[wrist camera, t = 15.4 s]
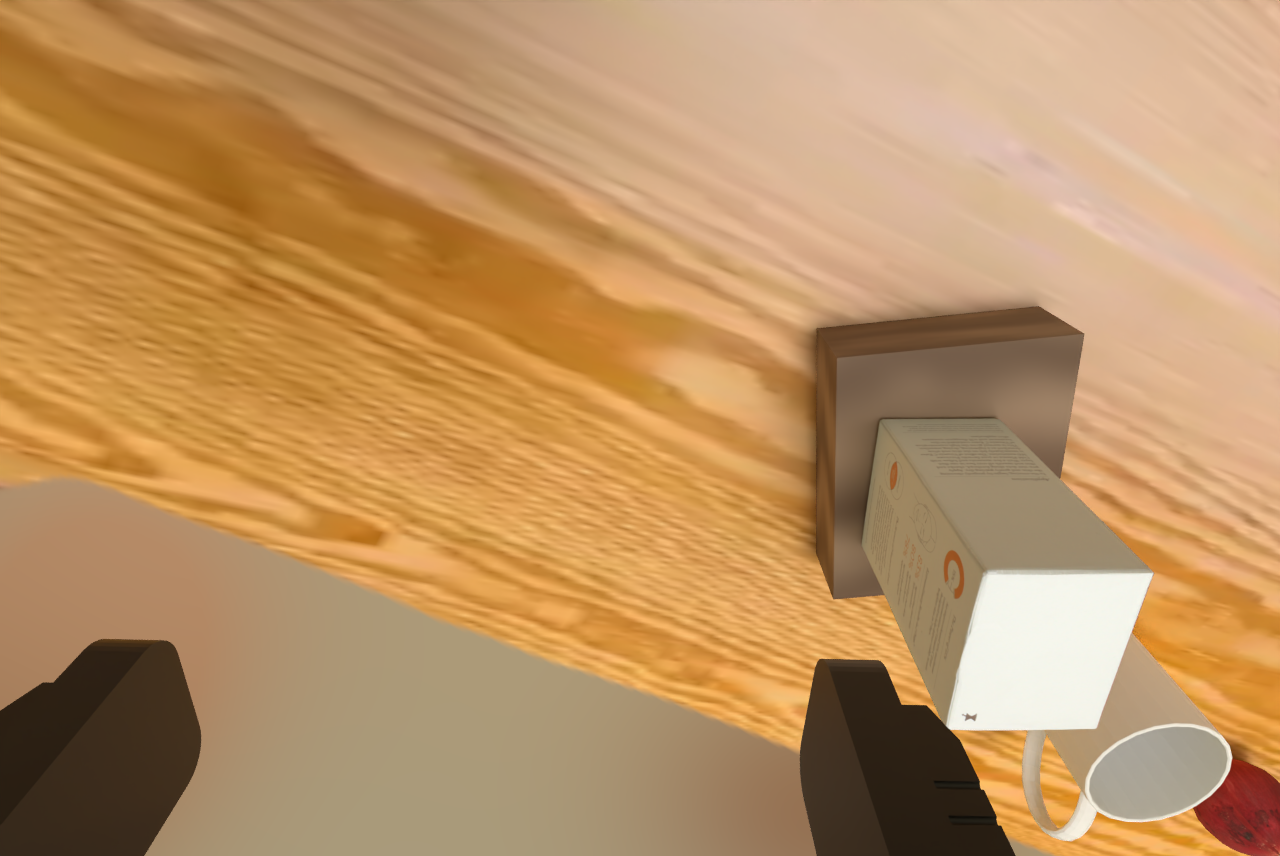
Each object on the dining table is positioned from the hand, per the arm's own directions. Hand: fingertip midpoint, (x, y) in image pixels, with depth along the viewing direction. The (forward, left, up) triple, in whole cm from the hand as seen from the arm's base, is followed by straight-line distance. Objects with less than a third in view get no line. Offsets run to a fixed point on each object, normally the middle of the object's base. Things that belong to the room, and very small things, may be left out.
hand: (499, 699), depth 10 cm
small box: (+12, +18, -28) cm, 35 cm away
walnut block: (+12, +19, -33) cm, 40 cm away
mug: (+29, +31, -32) cm, 53 cm away
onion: (+38, +46, -32) cm, 68 cm away
